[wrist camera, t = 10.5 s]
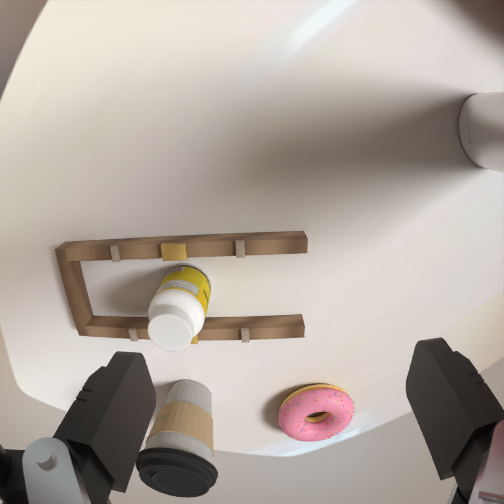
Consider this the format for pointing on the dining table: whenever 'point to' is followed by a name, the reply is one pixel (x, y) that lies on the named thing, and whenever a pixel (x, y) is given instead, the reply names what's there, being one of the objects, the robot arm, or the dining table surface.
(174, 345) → the supplement bottle
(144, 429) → the robot arm
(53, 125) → the dining table surface
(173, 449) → the coffee cup
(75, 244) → the wooden u-shaped frame
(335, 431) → the doughnut
